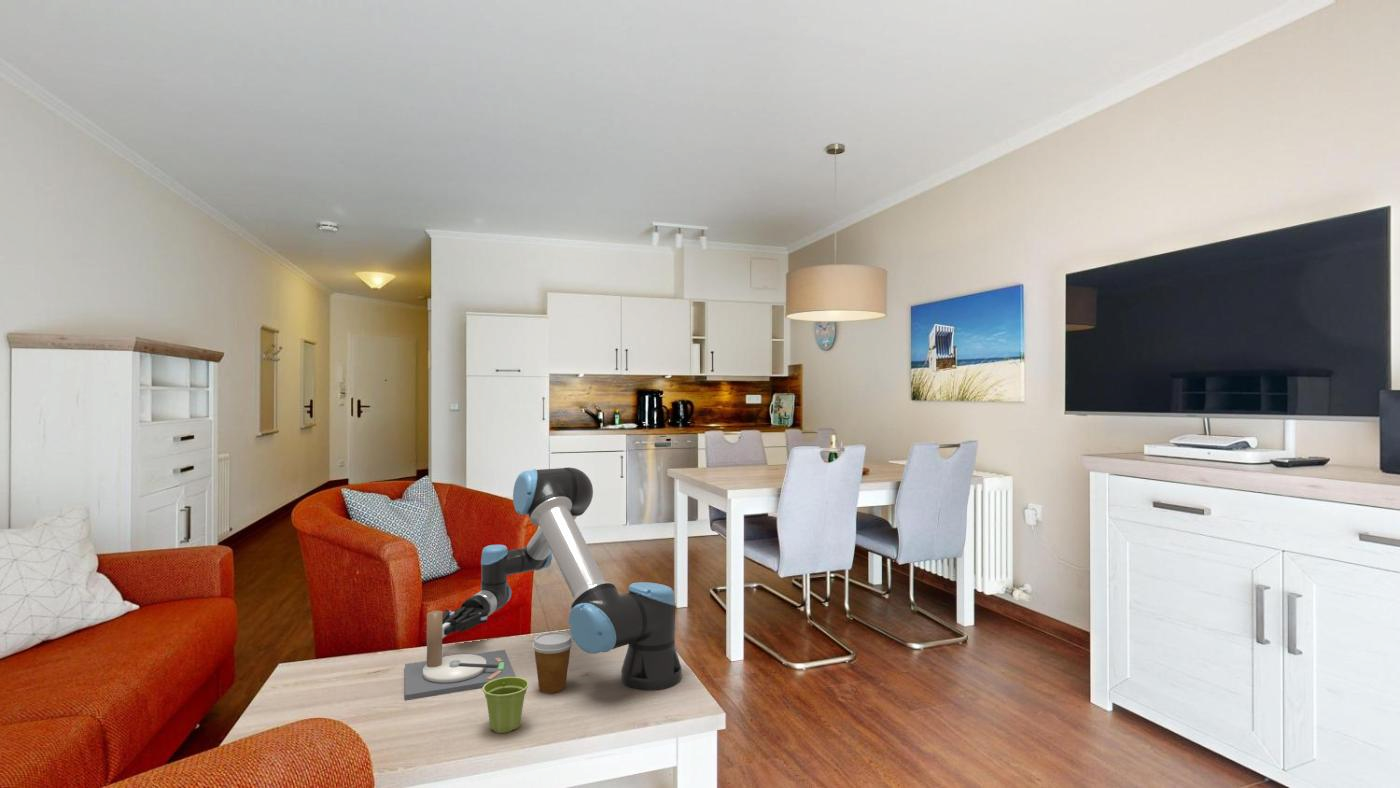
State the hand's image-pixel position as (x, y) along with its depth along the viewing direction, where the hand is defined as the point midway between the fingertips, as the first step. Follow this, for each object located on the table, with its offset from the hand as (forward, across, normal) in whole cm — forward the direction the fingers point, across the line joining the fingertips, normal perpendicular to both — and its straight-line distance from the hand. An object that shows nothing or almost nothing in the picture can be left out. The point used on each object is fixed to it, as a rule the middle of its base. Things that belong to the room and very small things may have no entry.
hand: (434, 636), depth 168 cm
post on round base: (+2, -7, -7) cm, 11 cm away
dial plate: (+2, -7, -9) cm, 11 cm away
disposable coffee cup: (+5, -34, -9) cm, 35 cm away
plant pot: (+25, -31, -8) cm, 40 cm away
